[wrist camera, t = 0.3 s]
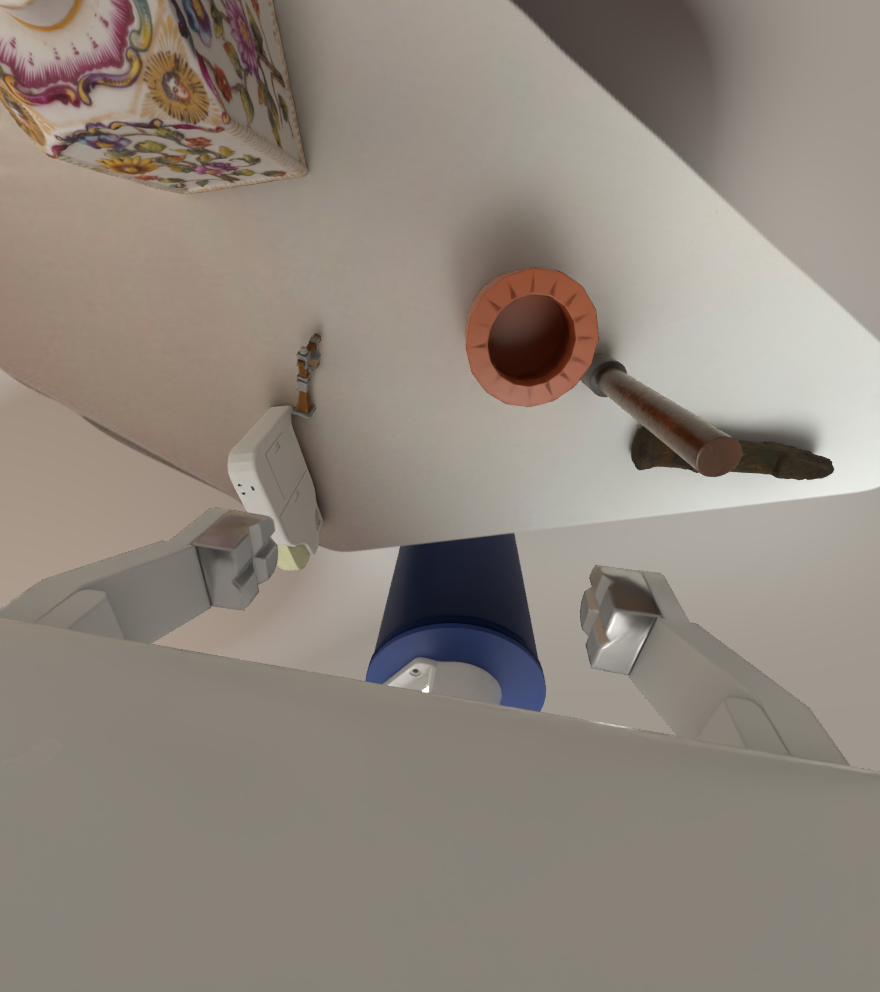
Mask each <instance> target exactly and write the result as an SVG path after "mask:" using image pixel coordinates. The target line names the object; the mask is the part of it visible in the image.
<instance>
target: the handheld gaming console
mask: <svg viewBox="0 0 880 992" xmlns="http://www.w3.org/2000/svg"><path fill="white" fill-rule="evenodd" d="M292 410H293V408H292V406H290V405H288V406H278V407H270V408H269V409H268V410H267V412H266V413H265V414H264V415H263V416H262V417H261V418H260V419H259V420H258V421H257V422H256V424H255V425H254V426H253V427H252V428H251V429H250V430H249V431H248V432H247V433H246V435H245V436H244V437H243V438H242V439H241V440H240V441H239V442H238V443H237V444H236V446H235V447H234V448H233V449H232V450H231V452H230V454H229V457H228V463H227V464H228V473H229V476H230V479H231V481H232V483H233V485H234V487H235V489H236V491H237V493H238V495H239V497H240V499H241V501H242V503H243V505H244V507H245V509H246V511H247V512H248V513H254V514H259V515H265V516H270V517H271V518H272V519H273V520H274V525H275V532H274V533H273V534H272V536H271V538H272V539H273V540H274V541H275V543H276V544H277V546H278V562H277V565H278V566H279V567H280V568H281V569H283V570H301V569H303V568H304V567H305V566H306V564H307V562H308V559H309V557H310V556H311V555H314V554H315V552H316V550H317V548H318V545H319V533H320V531H321V528H322V526H323V518H322V516H321V513H320V510H319V508H318V505H317V503H316V494H315V488H314V485H313V481H312V479H311V476H310V474H309V471H308V468H307V466H306V463H305V460H304V458H303V455H302V452H301V449H300V447H299V444H298V441H297V438H296V436H295V433H294V430H293V427H292V422H291V414H292Z"/></svg>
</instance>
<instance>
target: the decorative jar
mask: <svg viewBox="0 0 880 992" xmlns="http://www.w3.org/2000/svg"><path fill="white" fill-rule="evenodd" d="M0 101H1V102H2V103H3V105H4V106H5V107H6V109H7V110H8V111H9V113H10V114H11V116H12V117H13V118H14V120H15V121H16V123H17V124H18V125H19V127H20V128H21V129H22V130H23V131H24V132H25V133H26V134H27V135H28V136H29V138H30V139H31V140H32V141H33V142H34V144H35V145H36V146H37V147H38V148H39V149H40V150H41V151H42V152H44V153H45V154H47V155H48V156H50V157H52V158H54V159H59V160H62V161H65V162H68V163H72V164H74V165H78V166H81V167H84V168H87V169H90V170H93V171H97V172H100V173H104V174H107V175H111V176H116V177H120V178H123V179H126V180H129V181H132V182H135V183H139V184H142V185H145V186H149V187H153V188H156V189H160V190H165V191H170V192H174V193H179V194H192V193H199V192H205V191H210V190H218V189H224V188H229V187H238V186H246V185H252V184H258V183H264V182H269V181H275V180H282V179H288V178H294V177H303V176H305V175H307V173H308V170H307V166H306V162H305V158H304V152H303V148H302V142H301V136H300V132H299V127H298V122H297V117H296V112H295V107H294V101H293V96H292V93H291V88H290V83H289V77H288V72H287V67H286V62H285V57H284V53H283V47H282V43H281V37H280V34H279V28H278V24H277V20H276V15H275V11H274V6H273V1H272V0H0Z"/></svg>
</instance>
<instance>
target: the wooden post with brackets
mask: <svg viewBox="0 0 880 992" xmlns="http://www.w3.org/2000/svg"><path fill="white" fill-rule="evenodd" d="M320 341H321V336H320V335H318V334H314V336H313V337H311V339H310V340H309V344H308V345H307V347H301V348H300V349H299V351H298V353H297V366H299V374H298V375H297V383H298V388H297V390H299V398H298V404H297V405H296V407H295V408H294V410H293V413H292V414H294V415H297V416H300V417H303V418H306V419H310V417H311V416H312V414H313V412H314V410H315V409H316V408H315V406H314V405H311V403H310V397H309V388H310V376H311V375H310V373H309V367H310V369H311V370H316V369H317V367H318V366H319V364H320V363H319V357H320V356H321V355H320V354H317V351H316V350H315V349H317V347H318V346H319V343H320Z"/></svg>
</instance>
